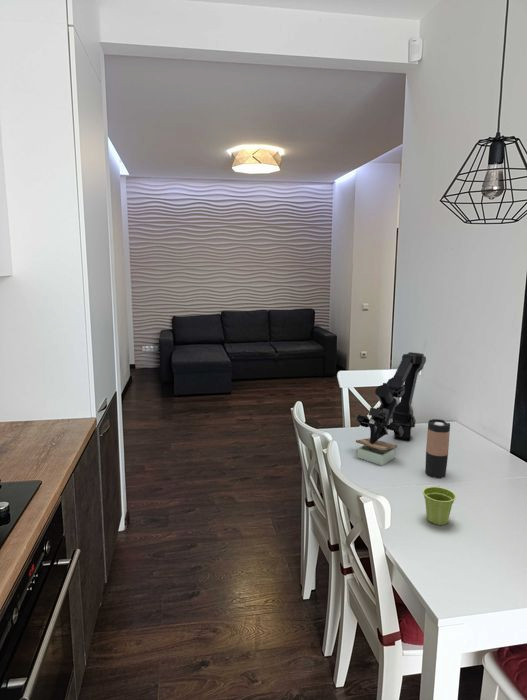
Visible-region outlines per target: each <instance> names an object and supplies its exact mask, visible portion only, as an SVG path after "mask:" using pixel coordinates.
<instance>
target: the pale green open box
mask: <svg viewBox="0 0 527 700" xmlns="http://www.w3.org/2000/svg"><path fill="white" fill-rule="evenodd" d="M395 453H396V448H392V449H387V450H380V449H377V448H373V447H370V446H367V445H363V444H362V445H361V446H359V447H358V448H357V457H358V458H357V459H360V458H361V460H363V459H364V461H367V462H370V463H373V464H377V465H379V466H384V465H385V464H387V463H389V462H390V461H392V460H393V459H395V455H396V454H395Z"/></svg>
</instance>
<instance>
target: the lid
mask: <svg viewBox="0 0 527 700" xmlns="http://www.w3.org/2000/svg"><path fill="white" fill-rule="evenodd" d="M355 443H357V444H360V445H362V446H363V445H367V446H370V447H373V448H377V449H380V450H387V449H392V448H395V449H396V448H397V447H398V445H397V444H391V443H388V442H385V441H382V440H380V439H378V440H377V441H376V442H375V443H374V444H370V437H368V438H363V439H356V440H355Z"/></svg>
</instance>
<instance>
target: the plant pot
mask: <svg viewBox="0 0 527 700" xmlns="http://www.w3.org/2000/svg"><path fill="white" fill-rule="evenodd" d="M422 495H423V498H424V502H425V510H426V511H425V512H426V520H427V521H428V522H429V523H432V524H434V525H438V526H445V525H446V524H448V523H449V520H450V515H451V511H452V507H453V504H454V503H455V500H456V499H457V495H456V494H455V493H454V492H453V491H452V490H449V489H448V488H445V487H440V486H429V487H425V488H424V489H423V490H422Z"/></svg>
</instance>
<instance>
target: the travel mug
mask: <svg viewBox="0 0 527 700" xmlns="http://www.w3.org/2000/svg"><path fill="white" fill-rule="evenodd" d="M450 430H451V423H450V422H446V421H445V420H444V419H437V418H436V419H435V418H434V419H429V420H428V424H427V436H426V444H425V445H426V447H425V466H424V467H425V468H424V470H425V471H424V472H425V474H426V475H427V477H430V476H431V477H430V478H433V477H435V478H434V479H443V478H446V473H447V467H448V460H449V459H448V457H449V447H450V435H451V433H450ZM442 477H443V478H442Z"/></svg>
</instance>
